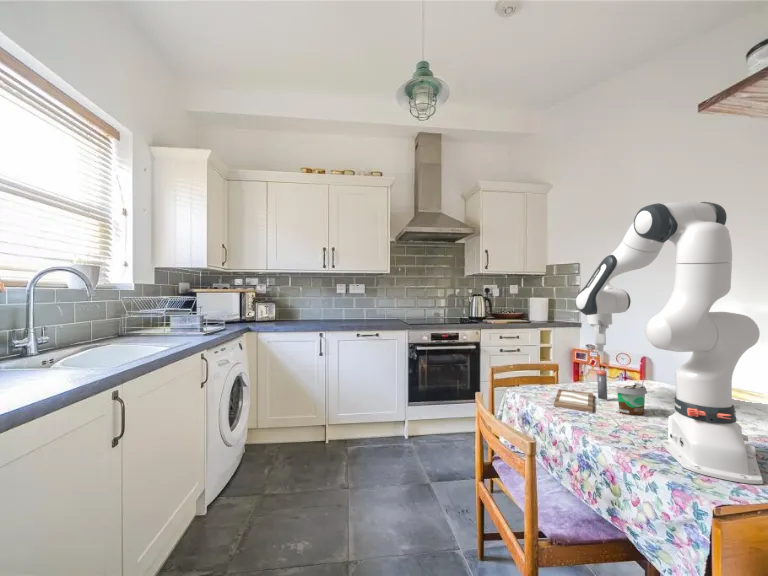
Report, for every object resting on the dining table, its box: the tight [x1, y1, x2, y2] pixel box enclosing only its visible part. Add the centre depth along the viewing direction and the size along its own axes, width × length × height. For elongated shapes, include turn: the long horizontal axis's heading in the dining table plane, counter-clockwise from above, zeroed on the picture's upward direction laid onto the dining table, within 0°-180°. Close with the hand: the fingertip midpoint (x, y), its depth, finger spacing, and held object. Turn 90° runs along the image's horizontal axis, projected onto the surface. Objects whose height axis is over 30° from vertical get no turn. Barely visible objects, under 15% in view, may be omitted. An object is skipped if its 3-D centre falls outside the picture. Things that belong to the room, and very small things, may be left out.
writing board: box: [553, 388, 594, 413], centre depth 133 cm, size 22×13×1 cm, turn 147°
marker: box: [596, 369, 609, 402], centre depth 133 cm, size 3×3×12 cm
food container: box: [615, 382, 648, 417], centre depth 118 cm, size 12×6×10 cm, turn 114°
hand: (600, 352), depth 134 cm, fingers open, 8 cm apart
